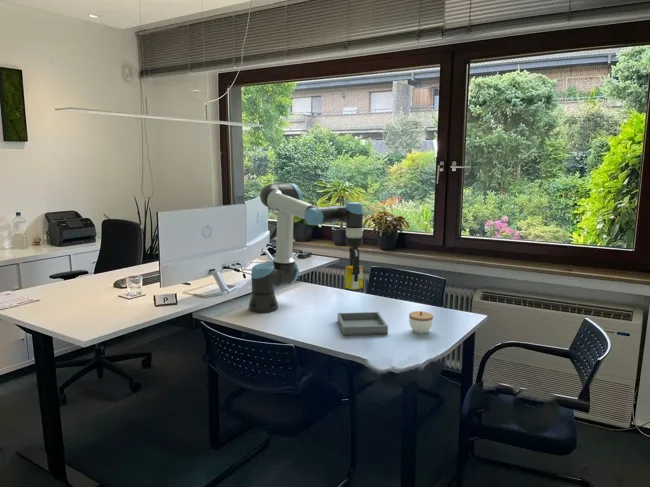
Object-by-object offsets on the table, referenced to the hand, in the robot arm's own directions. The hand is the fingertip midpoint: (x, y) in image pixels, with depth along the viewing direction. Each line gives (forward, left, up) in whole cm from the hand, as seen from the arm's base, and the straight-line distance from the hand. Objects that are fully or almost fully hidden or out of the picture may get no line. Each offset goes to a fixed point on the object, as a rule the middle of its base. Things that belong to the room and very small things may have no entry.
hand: (354, 285), depth 225 cm
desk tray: (+1, +4, -20) cm, 20 cm away
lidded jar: (+8, +30, -20) cm, 37 cm away
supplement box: (0, 0, -2) cm, 2 cm away
